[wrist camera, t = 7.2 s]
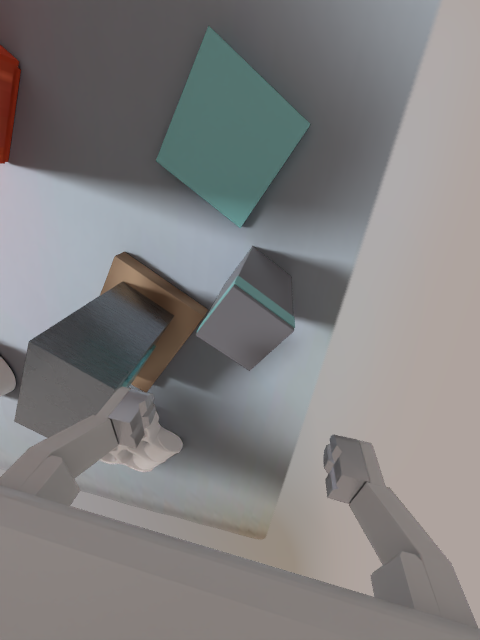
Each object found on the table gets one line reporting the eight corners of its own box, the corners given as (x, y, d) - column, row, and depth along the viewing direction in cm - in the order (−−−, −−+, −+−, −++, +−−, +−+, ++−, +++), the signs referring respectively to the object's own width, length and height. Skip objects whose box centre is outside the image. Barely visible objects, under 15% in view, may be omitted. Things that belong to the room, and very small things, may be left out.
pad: (160, 161, 18) (155, 160, 18) (212, 32, 14) (208, 25, 14) (241, 226, 20) (240, 228, 19) (309, 126, 16) (310, 124, 15)
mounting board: (86, 346, 31) (77, 353, 30) (124, 251, 23) (114, 256, 22) (151, 384, 33) (146, 392, 32) (208, 309, 25) (204, 316, 24)
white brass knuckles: (149, 463, 47) (82, 427, 44) (196, 431, 38) (116, 382, 35) (140, 482, 44) (68, 444, 41) (188, 451, 35) (101, 400, 32)
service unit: (90, 349, 29) (11, 419, 21) (119, 279, 23) (24, 338, 15) (137, 377, 30) (80, 453, 22) (177, 317, 24) (119, 392, 16)
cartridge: (224, 282, 23) (194, 335, 15) (252, 245, 21) (232, 285, 13) (261, 309, 24) (249, 371, 16) (292, 276, 22) (295, 331, 14)
